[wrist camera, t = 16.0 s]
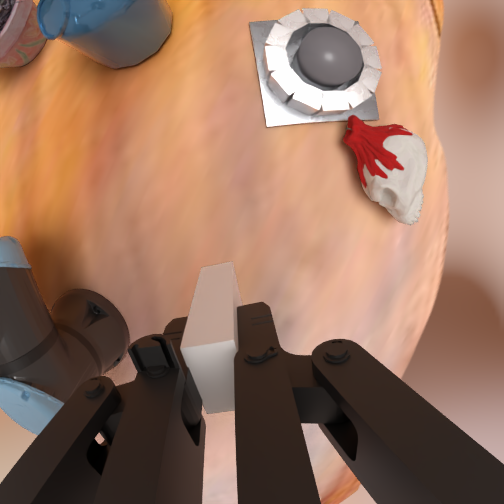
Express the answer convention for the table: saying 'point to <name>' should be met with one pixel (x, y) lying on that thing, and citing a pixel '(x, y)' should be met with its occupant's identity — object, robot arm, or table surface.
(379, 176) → the candle
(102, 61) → the wine bottle
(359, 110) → the square flange collar
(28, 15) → the potted plant
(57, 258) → the table surface
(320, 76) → the cap
